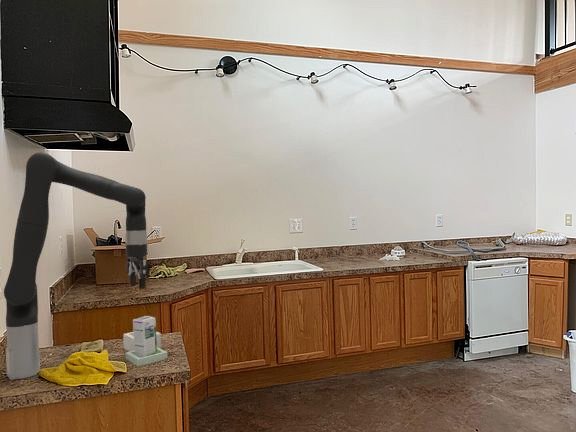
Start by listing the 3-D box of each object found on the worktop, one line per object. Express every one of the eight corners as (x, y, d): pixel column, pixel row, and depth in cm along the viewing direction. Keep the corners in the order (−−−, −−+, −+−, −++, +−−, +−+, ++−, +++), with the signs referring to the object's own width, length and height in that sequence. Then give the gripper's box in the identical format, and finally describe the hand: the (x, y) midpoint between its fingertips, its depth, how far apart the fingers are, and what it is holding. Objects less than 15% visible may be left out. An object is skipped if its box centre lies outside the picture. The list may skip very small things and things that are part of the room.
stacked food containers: (135, 355, 167) (134, 339, 167) (123, 349, 175) (123, 333, 175) (162, 349, 174) (161, 333, 174) (149, 343, 182) (149, 328, 182)
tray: (138, 366, 155) (137, 359, 155) (125, 359, 163) (125, 352, 163) (167, 358, 162) (167, 352, 162) (154, 352, 170) (154, 345, 170)
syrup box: (145, 361, 159) (143, 320, 158) (134, 358, 162) (132, 318, 161) (157, 356, 164) (156, 316, 163) (146, 354, 167) (145, 315, 166)
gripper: (119, 242, 166) (120, 286, 166) (133, 244, 155) (135, 291, 155) (138, 241, 171) (139, 283, 171) (154, 243, 160) (155, 288, 160)
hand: (137, 287), depth 163 cm, fingers open, 8 cm apart
